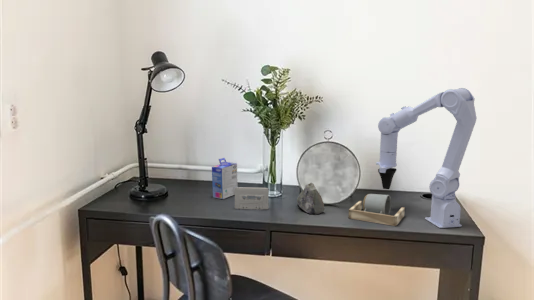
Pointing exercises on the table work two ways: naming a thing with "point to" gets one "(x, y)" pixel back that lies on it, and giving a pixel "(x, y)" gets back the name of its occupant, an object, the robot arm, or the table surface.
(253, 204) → the cassette
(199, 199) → the table surface
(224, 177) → the ink cartridge box
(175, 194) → the table surface
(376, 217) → the bracket
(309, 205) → the mineral rock
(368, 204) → the ceramic mug
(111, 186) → the table surface
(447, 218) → the robot arm
